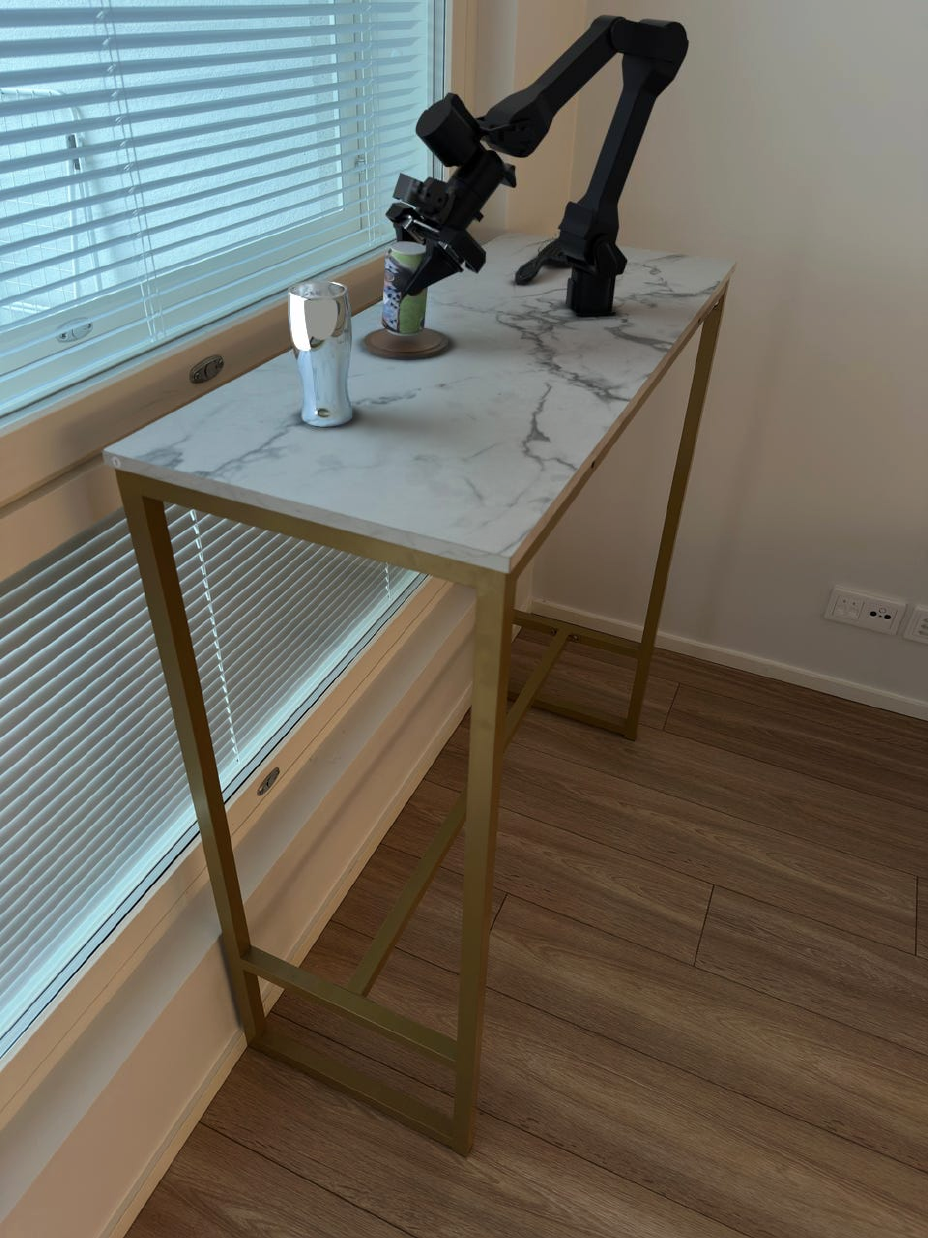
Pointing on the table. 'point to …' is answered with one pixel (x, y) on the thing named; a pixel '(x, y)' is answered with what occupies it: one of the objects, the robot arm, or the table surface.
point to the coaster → (406, 344)
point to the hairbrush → (541, 262)
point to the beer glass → (322, 349)
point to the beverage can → (403, 290)
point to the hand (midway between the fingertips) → (397, 287)
